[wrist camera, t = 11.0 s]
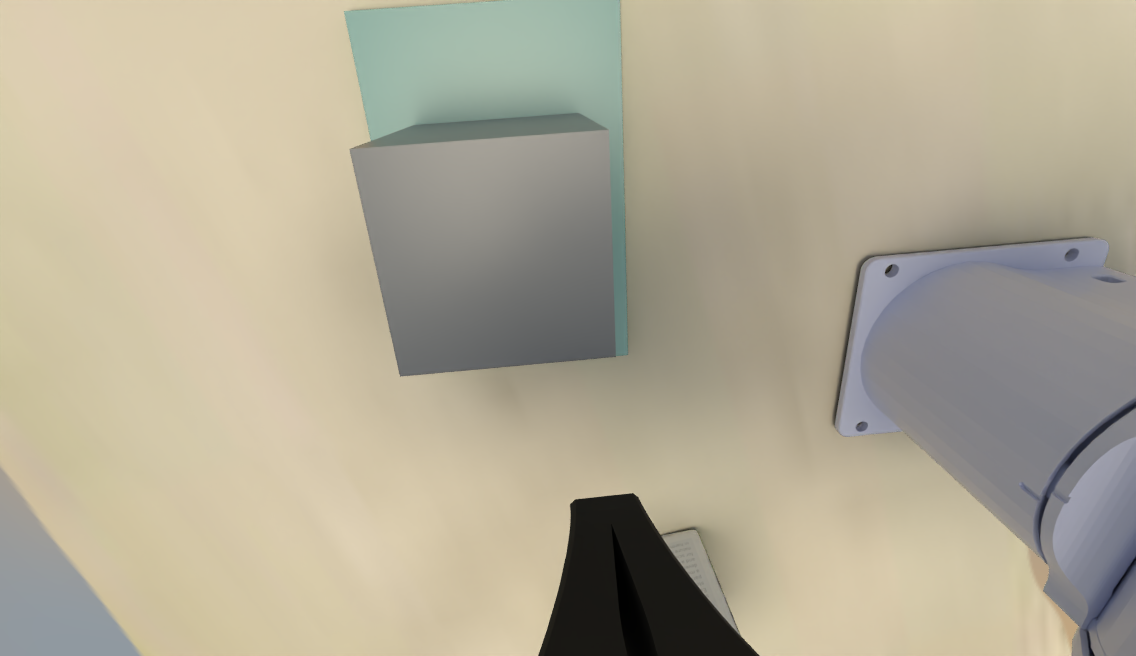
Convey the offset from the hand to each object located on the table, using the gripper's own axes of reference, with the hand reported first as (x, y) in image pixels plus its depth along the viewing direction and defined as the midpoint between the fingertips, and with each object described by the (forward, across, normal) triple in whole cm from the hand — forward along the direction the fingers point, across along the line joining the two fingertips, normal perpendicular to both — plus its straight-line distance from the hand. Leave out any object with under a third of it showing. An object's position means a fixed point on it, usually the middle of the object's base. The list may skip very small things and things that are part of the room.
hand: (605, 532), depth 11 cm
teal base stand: (+10, +2, -5) cm, 12 cm away
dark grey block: (+10, +2, -5) cm, 11 cm away
